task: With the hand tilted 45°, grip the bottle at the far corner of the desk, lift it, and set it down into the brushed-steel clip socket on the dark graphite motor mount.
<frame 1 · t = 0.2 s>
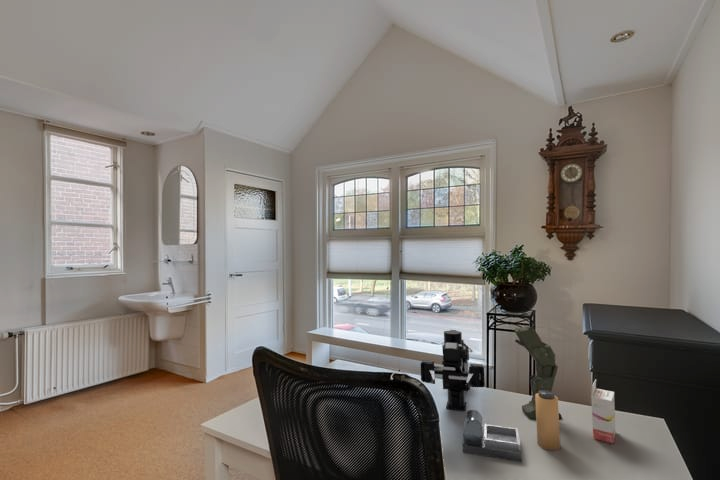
hand: (450, 383, 100), 17 cm above the table, tool horizontal, fingers open, 9 cm apart
motor mount: (491, 445, 98), on the table
bottle: (548, 444, 97), on the table
mechanical leg: (538, 415, 115), on the table
ink cartridge box: (605, 436, 102), on the table
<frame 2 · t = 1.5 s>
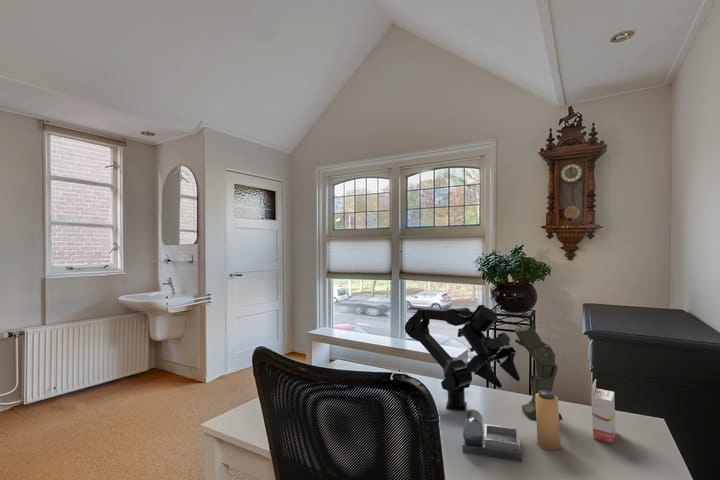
hand: (510, 383, 106), 14 cm above the table, tool tilted 45°, fingers open, 9 cm apart
nothing on the table moved.
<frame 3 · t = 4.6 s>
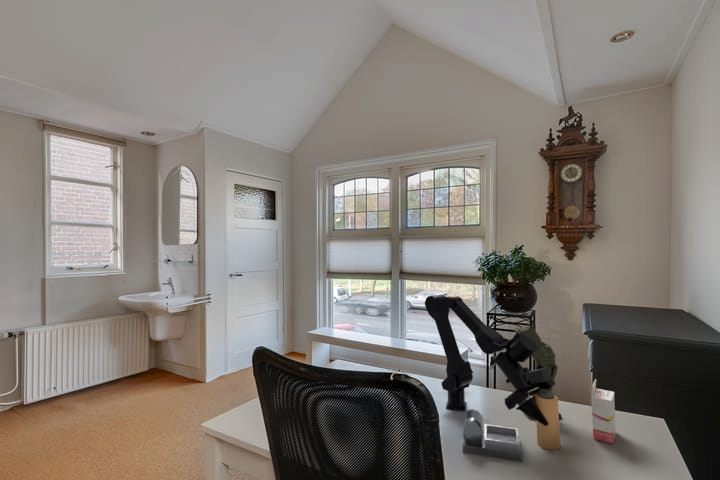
hand: (552, 421, 97), 7 cm above the table, tool tilted 45°, fingers closed on bottle, 6 cm apart
bottle: (548, 444, 97), on the table, touching gripper
everything else where it was.
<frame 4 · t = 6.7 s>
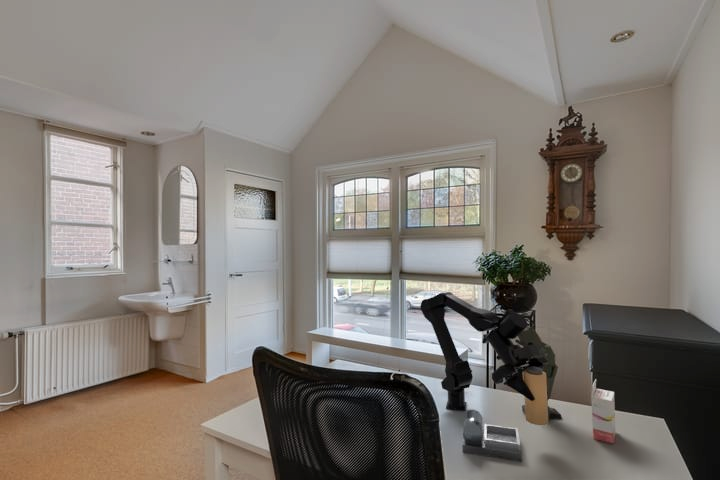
hand: (540, 397, 96), 13 cm above the table, tool tilted 45°, fingers closed on bottle, 6 cm apart
bottle: (536, 420, 97), point 7 cm above the table, touching gripper
everything else where it was.
when the fingers open (9 cm above the table, at t = 8.9 s): bottle stays where it is, resting on motor mount.
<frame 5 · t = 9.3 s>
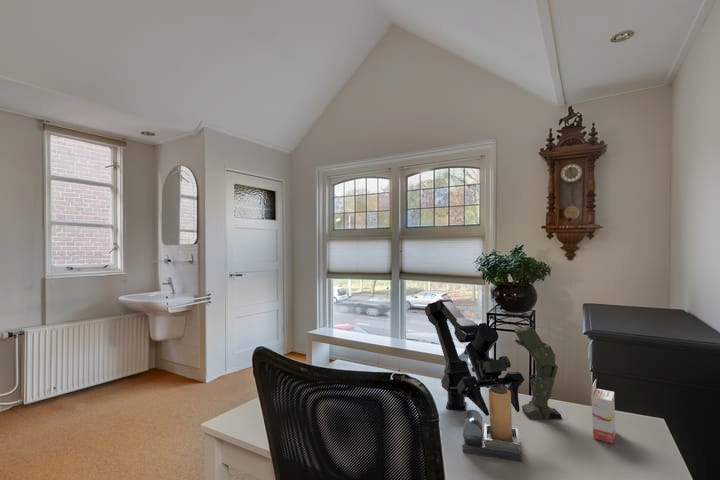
hand: (503, 413, 96), 10 cm above the table, tool tilted 45°, fingers open, 9 cm apart
bottle: (501, 439, 97), point 2 cm above the table, touching motor mount
everything else where it was.
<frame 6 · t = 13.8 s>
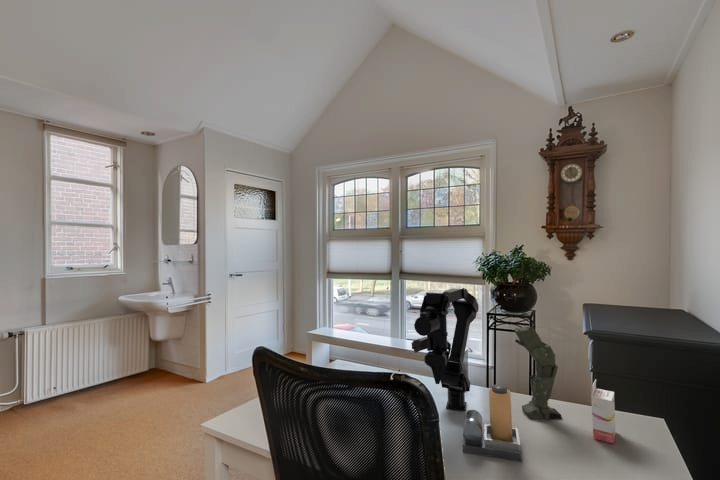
hand: (439, 378, 114), 13 cm above the table, tool pointing down, fingers open, 9 cm apart
nothing on the table moved.
at the end: bottle 0.0 cm from the target spot on the motor mount, point 2.0 cm above the motor mount's base; bottle tilted 0°; the gripper is holding nothing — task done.
